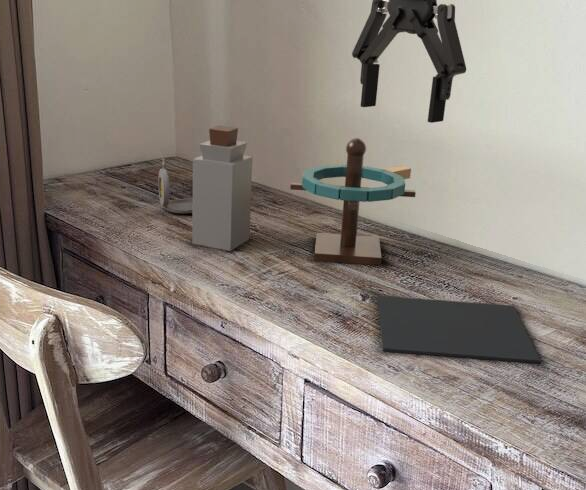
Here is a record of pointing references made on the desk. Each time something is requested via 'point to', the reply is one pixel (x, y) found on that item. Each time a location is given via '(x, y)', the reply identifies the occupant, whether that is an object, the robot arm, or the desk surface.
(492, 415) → the desk surface
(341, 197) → the ring
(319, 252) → the stand
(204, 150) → the perfume bottle
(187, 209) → the pocket watch
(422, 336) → the mat
